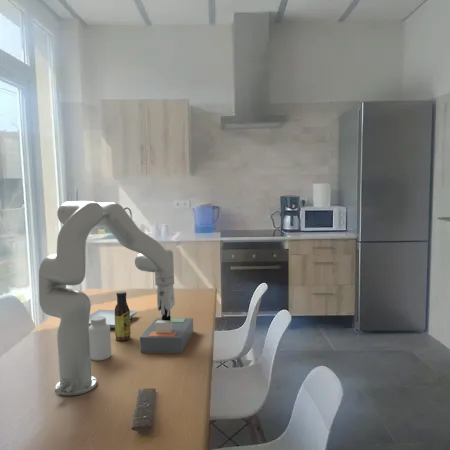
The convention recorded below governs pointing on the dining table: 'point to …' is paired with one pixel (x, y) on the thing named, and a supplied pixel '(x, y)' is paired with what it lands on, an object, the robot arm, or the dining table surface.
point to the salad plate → (108, 316)
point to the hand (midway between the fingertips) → (166, 325)
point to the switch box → (167, 337)
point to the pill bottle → (99, 339)
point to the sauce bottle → (122, 317)
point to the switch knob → (164, 326)
